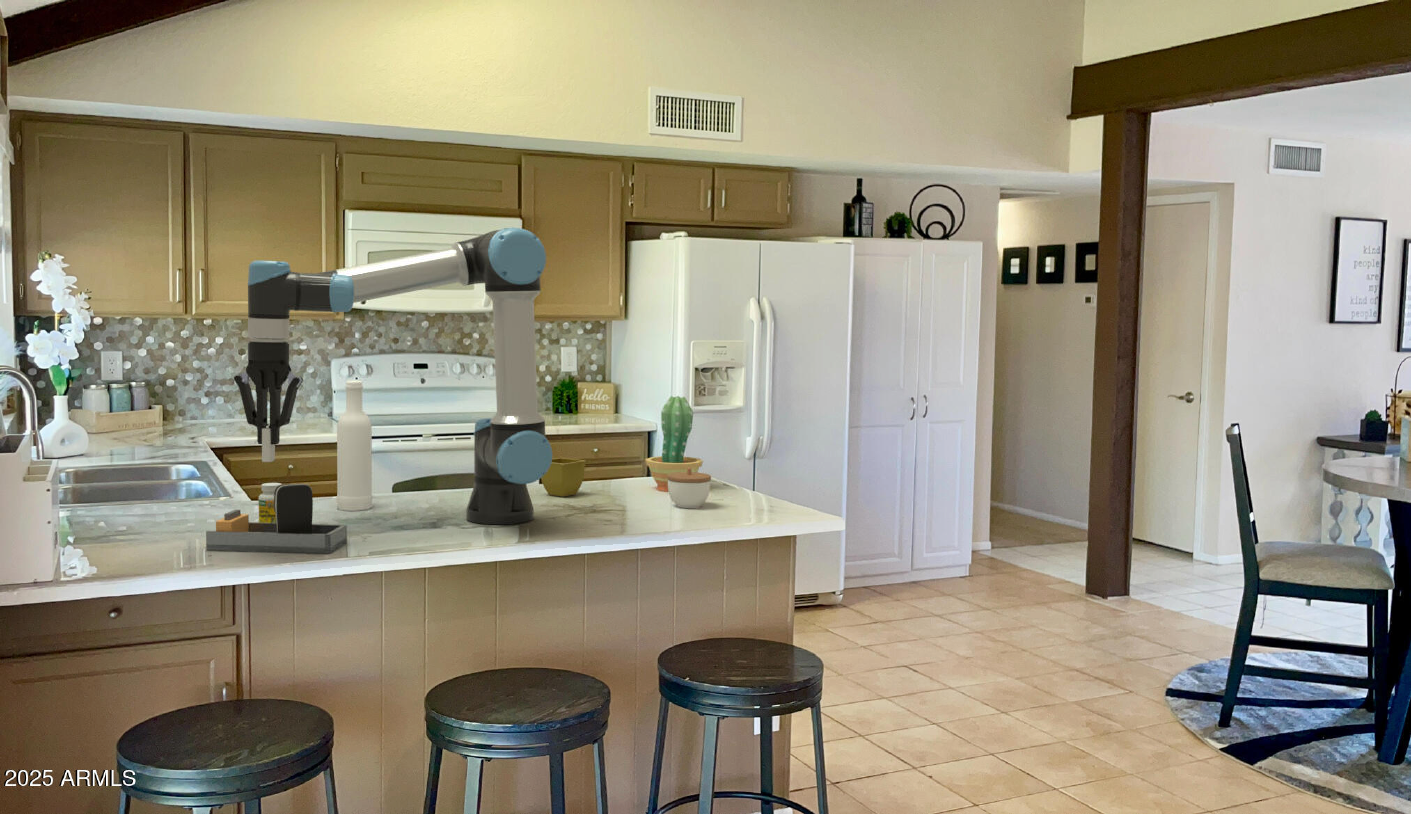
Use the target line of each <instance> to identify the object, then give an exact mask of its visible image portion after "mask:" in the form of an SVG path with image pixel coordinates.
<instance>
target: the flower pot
mask: <svg viewBox="0 0 1411 814" xmlns="http://www.w3.org/2000/svg"><path fill="white" fill-rule="evenodd" d="M585 469H586V460H582V459H576V458H573V459H572V458H566V457H557V458H556V457H555V458H552V462H551V465H550V467H549V469H548V471H547V472H546V473H545V474H544V476H542V477H541V478H540V479H541V482H542V485H543V488H544V489H545V491H546V493H547V494H548V495H550V496H554V497H555V496H557V497H562V498H564V497H568V496H574V495H576V494H577V493H578V491H579V490H580V488H581V486H582V485H583V481H584V476H585Z"/></svg>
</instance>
